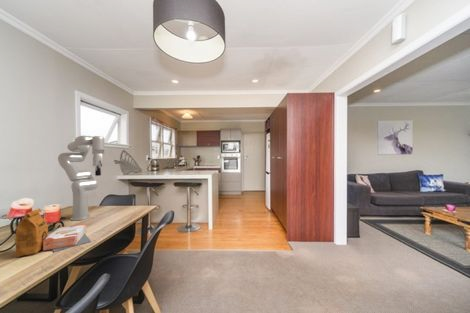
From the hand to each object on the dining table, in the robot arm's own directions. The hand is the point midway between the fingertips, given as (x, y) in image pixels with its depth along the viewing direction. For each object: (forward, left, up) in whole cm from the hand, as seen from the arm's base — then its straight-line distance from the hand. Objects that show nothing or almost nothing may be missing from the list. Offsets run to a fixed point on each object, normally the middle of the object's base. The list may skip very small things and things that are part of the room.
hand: (98, 175), depth 141 cm
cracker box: (+14, -17, -33) cm, 40 cm away
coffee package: (+26, -35, -37) cm, 57 cm away
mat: (+27, -20, -37) cm, 50 cm away
